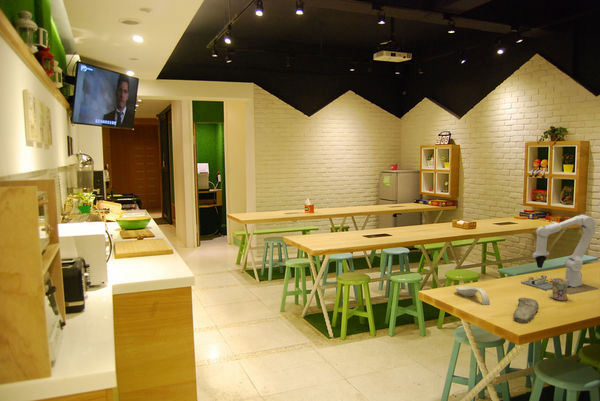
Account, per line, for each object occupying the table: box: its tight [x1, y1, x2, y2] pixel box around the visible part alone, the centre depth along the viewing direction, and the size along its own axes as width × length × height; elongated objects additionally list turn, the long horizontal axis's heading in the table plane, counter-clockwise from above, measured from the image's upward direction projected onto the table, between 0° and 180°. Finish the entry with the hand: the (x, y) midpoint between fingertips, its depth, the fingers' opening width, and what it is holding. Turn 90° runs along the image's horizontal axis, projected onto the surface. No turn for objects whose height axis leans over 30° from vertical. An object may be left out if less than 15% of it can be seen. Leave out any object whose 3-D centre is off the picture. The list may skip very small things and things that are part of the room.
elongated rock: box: [512, 297, 539, 324], centre depth 231 cm, size 35×5×10 cm
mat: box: [520, 279, 553, 291], centre depth 279 cm, size 15×16×1 cm
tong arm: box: [534, 275, 548, 285], centre depth 280 cm, size 13×4×3 cm, turn 122°
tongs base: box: [529, 277, 542, 284], centre depth 281 cm, size 12×3×3 cm, turn 119°
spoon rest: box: [455, 285, 491, 306], centre depth 253 cm, size 24×12×7 cm, turn 15°
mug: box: [550, 277, 570, 301], centre depth 255 cm, size 12×9×11 cm
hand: (539, 267), depth 283 cm, fingers closed
